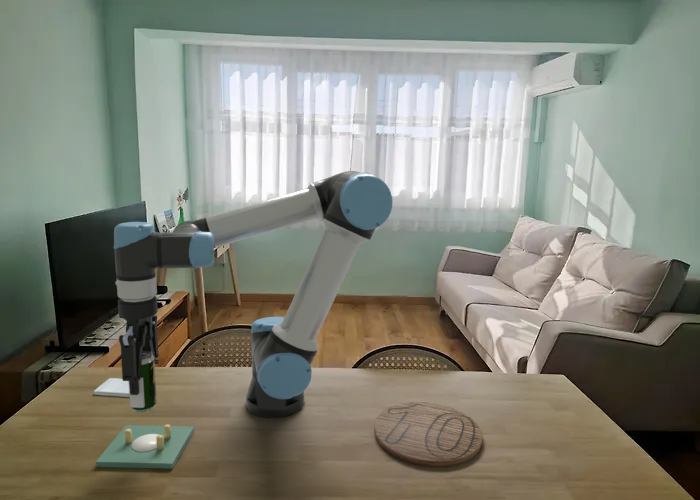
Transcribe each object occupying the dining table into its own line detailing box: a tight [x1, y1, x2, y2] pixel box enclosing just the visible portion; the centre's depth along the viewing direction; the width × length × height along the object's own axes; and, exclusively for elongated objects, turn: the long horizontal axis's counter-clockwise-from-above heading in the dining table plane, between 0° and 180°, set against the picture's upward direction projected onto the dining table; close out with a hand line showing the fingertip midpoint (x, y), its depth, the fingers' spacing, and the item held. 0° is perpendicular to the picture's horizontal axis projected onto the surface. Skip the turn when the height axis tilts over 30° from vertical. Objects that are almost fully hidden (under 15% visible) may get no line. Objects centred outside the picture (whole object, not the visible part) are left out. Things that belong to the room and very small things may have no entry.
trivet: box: [374, 401, 483, 468], centre depth 118 cm, size 25×25×2 cm
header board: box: [95, 424, 195, 470], centre depth 110 cm, size 16×14×4 cm
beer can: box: [129, 351, 158, 414], centre depth 107 cm, size 5×5×12 cm
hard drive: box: [92, 377, 130, 398], centre depth 137 cm, size 2×8×12 cm
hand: (143, 399), depth 108 cm, fingers closed on beer can, 5 cm apart
